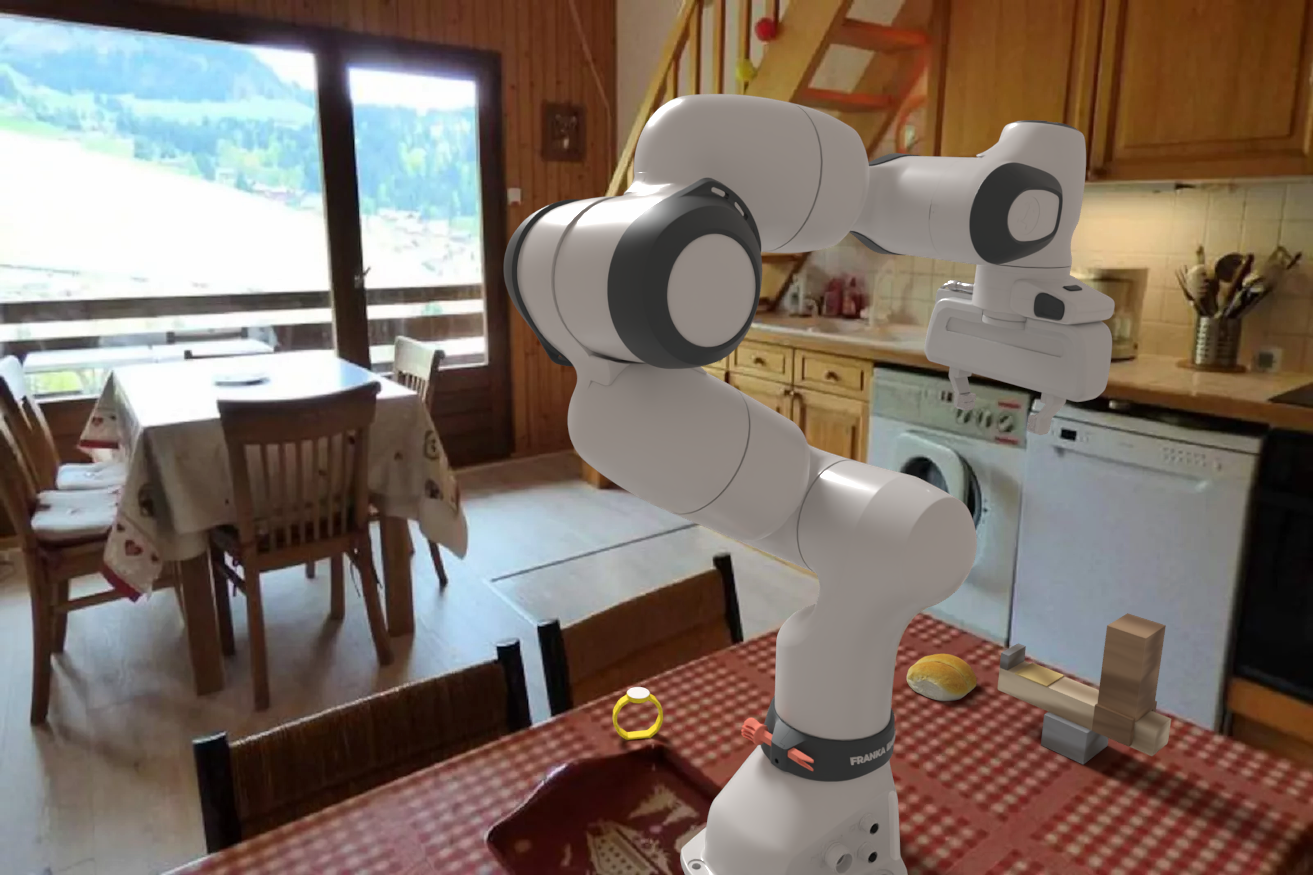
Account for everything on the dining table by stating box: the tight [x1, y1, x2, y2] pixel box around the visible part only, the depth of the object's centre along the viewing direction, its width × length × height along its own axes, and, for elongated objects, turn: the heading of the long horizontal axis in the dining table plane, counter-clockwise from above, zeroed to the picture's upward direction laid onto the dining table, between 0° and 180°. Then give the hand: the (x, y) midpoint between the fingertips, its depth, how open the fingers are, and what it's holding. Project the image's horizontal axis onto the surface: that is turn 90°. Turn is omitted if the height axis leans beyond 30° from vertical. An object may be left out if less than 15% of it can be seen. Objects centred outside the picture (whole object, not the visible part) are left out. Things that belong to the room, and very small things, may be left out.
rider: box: [1092, 613, 1167, 747], centre depth 95 cm, size 6×4×13 cm, turn 128°
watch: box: [612, 686, 664, 741], centre depth 103 cm, size 6×3×6 cm, turn 100°
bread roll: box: [906, 653, 977, 702], centre depth 115 cm, size 8×9×4 cm
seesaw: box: [997, 642, 1172, 765], centre depth 100 cm, size 6×18×9 cm, turn 38°
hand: (999, 420), depth 92 cm, fingers open, 8 cm apart
